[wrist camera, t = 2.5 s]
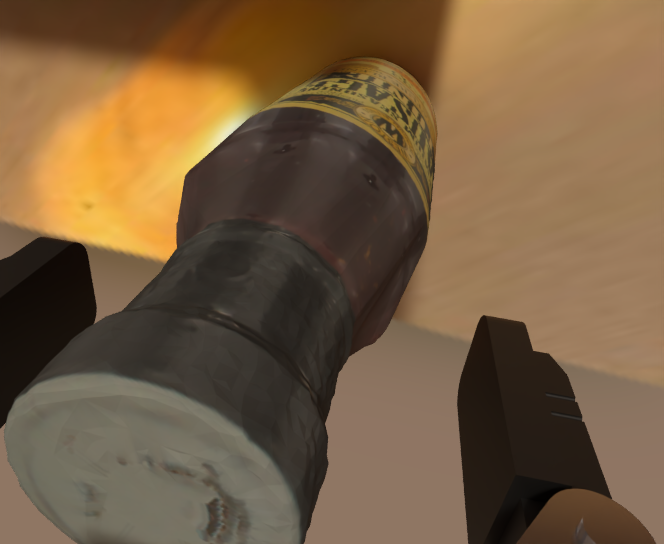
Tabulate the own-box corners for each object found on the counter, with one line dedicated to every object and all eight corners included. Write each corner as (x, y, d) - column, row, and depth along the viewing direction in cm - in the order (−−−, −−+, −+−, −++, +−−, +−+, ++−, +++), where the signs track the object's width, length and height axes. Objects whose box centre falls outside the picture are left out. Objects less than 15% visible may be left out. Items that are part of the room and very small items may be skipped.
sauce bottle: (465, 119, 22) (574, 577, 5) (371, 212, 25) (252, 690, 8) (355, 11, 21) (31, 175, 4) (269, 124, 24) (-120, 488, 7)
